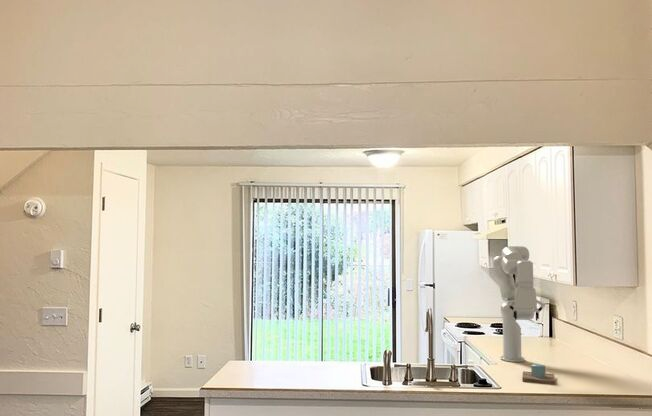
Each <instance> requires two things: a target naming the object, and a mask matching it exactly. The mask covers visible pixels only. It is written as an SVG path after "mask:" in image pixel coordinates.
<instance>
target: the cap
mask: <svg viewBox="0 0 652 416" xmlns="http://www.w3.org/2000/svg"><path fill="white" fill-rule="evenodd" d="M530 365H531V366H530V368H531V371H530V372H532V376H533V377H537V378H545V373H546V365H544V364H542V363H541V364H540V363H531V364H530Z"/></svg>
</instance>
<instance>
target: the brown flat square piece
mask: <svg viewBox="0 0 652 416" xmlns="http://www.w3.org/2000/svg"><path fill="white" fill-rule="evenodd" d="M521 378H522V382H523V383H524V382H525V383H535V384H542V385H543V384H544V385H554V386H555V385H556V378H555V374H554V373H546V372H545V378H537V377H533V376H532V371H522V377H521Z"/></svg>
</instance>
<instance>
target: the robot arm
mask: <svg viewBox="0 0 652 416" xmlns="http://www.w3.org/2000/svg"><path fill="white" fill-rule="evenodd" d="M529 259H530V251H529V249H528V248H527V247H526V246H523V245H522V246H520V245H519V246H511V245H510V246H505V247H504V248H503V249H502V250H501V255H498V256H495V257H493V260H492V267H493V270H494V274H495V275H496V278H497V280H498V284H499V290H500V297H501V299H502V301H503V302H504V303H503V304H501V306H500V313H501V320H502V340H503V341H502V348H503V349H502V350H503V351H502V352H503V355H501V356H500V360H502V361H505V362H512V363H522V362H524V361H525V357H523V356H522V327H521V326H520V324H519V323H518V322H517V321H519V320H520V321H529V320H530V321H531V320H532V319H534V317H535V321H536V322H537V321H538V320H539V319H540V318H539V317H540V315H539V314H540V312H541V311H543V309H544V307H545V303H544V302H542V301H540V300H538V299H537V290H536V288H535V287H534V263H533V261H530V260H529ZM512 275H516V276H517V279H516V280H517V282H515V278H514V277H513V276H512ZM537 304H538V305H540V307H539V308H538V307H537V306H538V305H537Z"/></svg>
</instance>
